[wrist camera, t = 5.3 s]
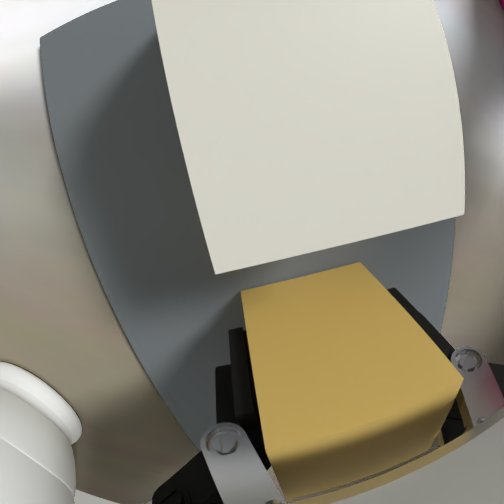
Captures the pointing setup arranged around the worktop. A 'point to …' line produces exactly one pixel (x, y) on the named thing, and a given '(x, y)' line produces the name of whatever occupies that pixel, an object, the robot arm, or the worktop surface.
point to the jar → (35, 441)
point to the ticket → (312, 121)
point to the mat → (179, 213)
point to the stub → (342, 379)
